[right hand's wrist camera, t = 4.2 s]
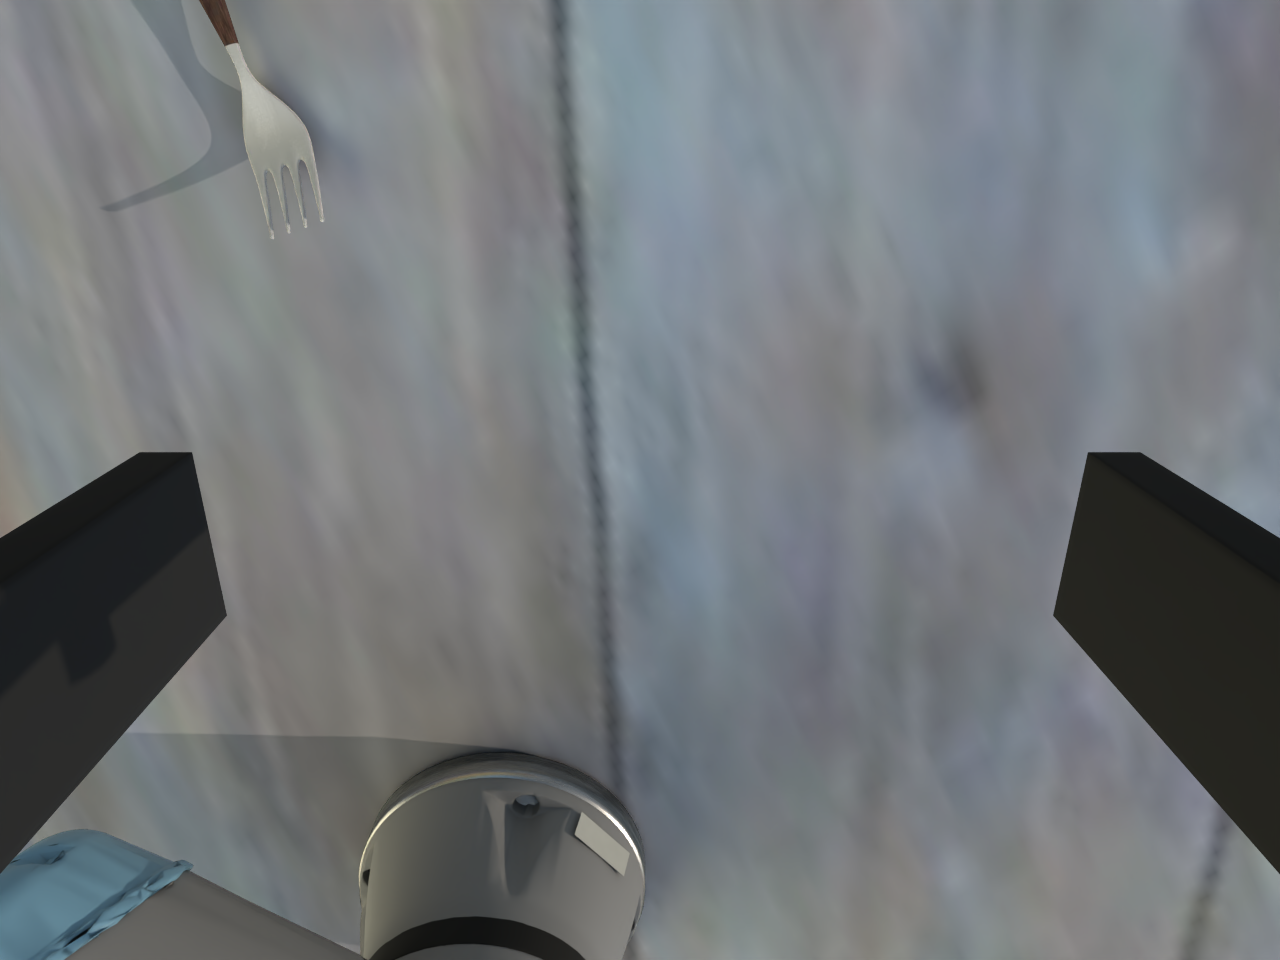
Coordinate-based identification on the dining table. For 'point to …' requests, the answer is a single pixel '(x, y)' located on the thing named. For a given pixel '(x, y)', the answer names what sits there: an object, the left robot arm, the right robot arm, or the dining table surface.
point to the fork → (267, 126)
